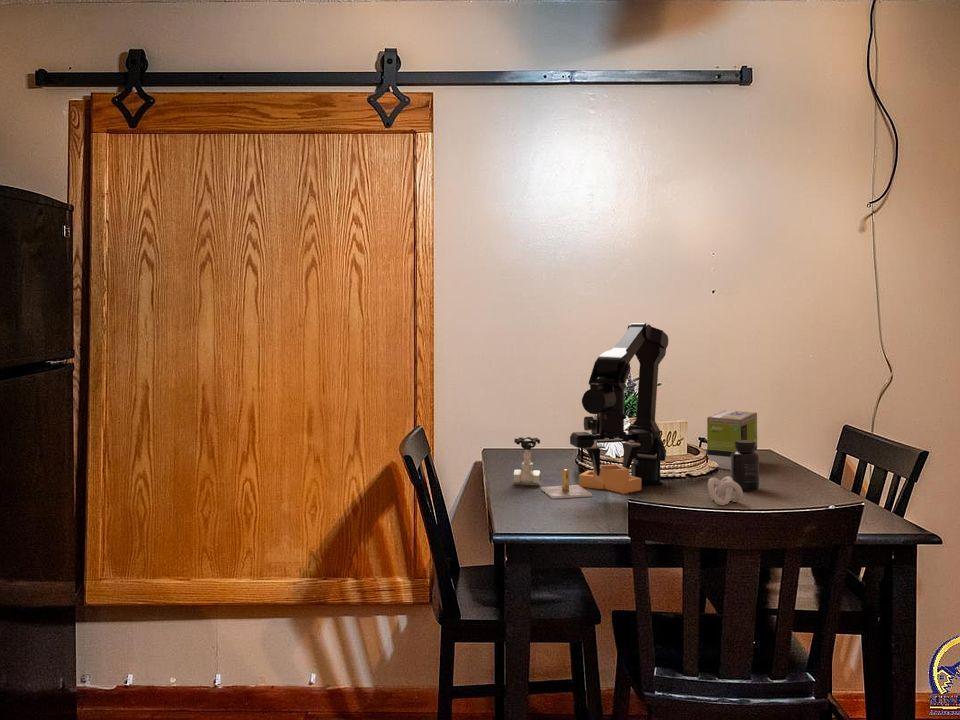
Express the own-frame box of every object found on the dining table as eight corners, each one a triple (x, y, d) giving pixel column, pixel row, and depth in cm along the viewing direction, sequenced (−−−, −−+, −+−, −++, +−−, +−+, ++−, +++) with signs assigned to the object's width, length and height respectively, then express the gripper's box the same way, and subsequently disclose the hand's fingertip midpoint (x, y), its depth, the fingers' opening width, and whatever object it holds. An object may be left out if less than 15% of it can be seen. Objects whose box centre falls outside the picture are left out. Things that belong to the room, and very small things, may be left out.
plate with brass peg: (578, 487, 204) (578, 464, 203) (591, 496, 194) (592, 472, 194) (540, 489, 202) (540, 466, 201) (552, 498, 192) (552, 474, 192)
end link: (618, 476, 193) (618, 464, 193) (629, 482, 187) (629, 469, 187) (593, 477, 192) (593, 465, 192) (603, 483, 186) (603, 471, 185)
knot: (701, 498, 192) (702, 474, 192) (735, 498, 192) (736, 474, 192) (709, 506, 185) (710, 481, 184) (745, 506, 184) (745, 481, 184)
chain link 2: (622, 485, 206) (622, 473, 205) (641, 490, 200) (641, 478, 200) (604, 489, 202) (604, 477, 201) (623, 493, 197) (623, 481, 196)
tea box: (723, 458, 239) (724, 409, 238) (757, 462, 234) (759, 412, 233) (705, 467, 227) (706, 415, 226) (741, 471, 221) (742, 418, 220)
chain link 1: (587, 481, 210) (588, 470, 210) (611, 483, 207) (611, 472, 207) (579, 486, 205) (579, 474, 204) (603, 489, 202) (603, 477, 201)
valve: (538, 488, 202) (538, 441, 201) (512, 487, 204) (512, 441, 203) (541, 483, 209) (541, 437, 208) (516, 482, 210) (516, 436, 209)
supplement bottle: (760, 486, 203) (761, 439, 202) (757, 492, 197) (758, 444, 196) (732, 484, 206) (733, 438, 205) (728, 490, 200) (729, 442, 199)
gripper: (635, 403, 198) (634, 466, 199) (562, 405, 194) (562, 469, 195) (654, 409, 187) (653, 475, 188) (578, 412, 183) (577, 479, 184)
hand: (611, 474), depth 189 cm, fingers closed on end link, 6 cm apart
